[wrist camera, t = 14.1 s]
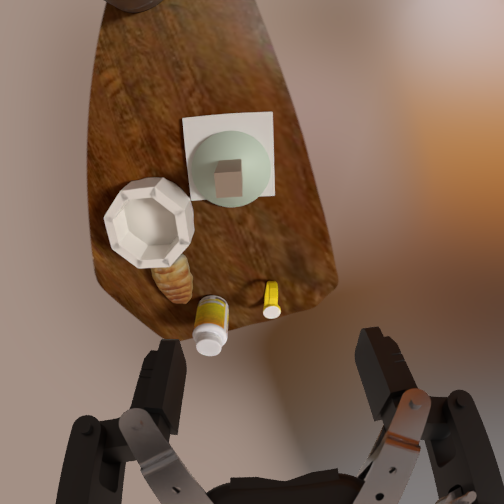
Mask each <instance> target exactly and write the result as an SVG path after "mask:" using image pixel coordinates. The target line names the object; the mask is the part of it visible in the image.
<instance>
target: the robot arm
mask: <svg viewBox="0 0 504 504" xmlns="http://www.w3.org/2000/svg"><path fill="white" fill-rule="evenodd" d="M105 1H106V2H108V3H110V4H112V5H113V6H115V7H117V8H118V9H120V10H122V11H125V12H129V13H136V12H142V11H145V10H148V9H150V8H152V7H154V6H156V5H157V4H159V3H160V2H161V1H162V0H105ZM355 362H356V366H357V369H358V372H359V375H360V378H361V381H362V384H363V386H364V390H365V393H366V396H367V399H368V402H369V405H370V409H371V412H372V415H373V419H374V421H377V420H383V423H384V425H383V427H382V429H381V431H380V433H379V435H378V438H377V440H376V442H375V444H374V446H373V448H372V450H371V452H370V454H369V456H368V458H367V460H366V461H365V463H364V464H363V466H362V468H361V469H360V471H359V472H358V474H357V476H356V477H354V476H351V475H348V474H342V473H338V469H337V468H336V469H331V470H325V471H318V472H312V473H309V474H306V475H304V476H300V477H297V478H295V479H292V480H288V481H277V480H271V479H265V478H259V477H244V478H230V480H231V481H230V483H226V484H223V485H220V486H218V487H215V488H213V489H212V490H210V491H208V492H207V493H206V492H205V491H204V489H203V488H202V487H201V486H200V485H199V483H198V482H197V481H196V480H195V478H194V477H193V476H192V474H191V473H190V472H189V471H188V469H187V468H186V467H185V465H184V464H183V463H182V461H181V460H180V458H179V457H178V456H177V454H176V453H175V451H174V450H173V448H172V447H171V446H170V444H169V438H170V434H173V435H177V434H178V427H179V419H180V413H181V405H182V399H183V392H184V386H185V379H186V372H187V367H186V360H185V357H184V354H183V351H182V347H181V344H180V341H179V340H178V339H162V340H161V342H160V345H159V348H158V351H154V350H153V351H152V350H151V351H150V353H149V354H148V355H147V356H146V357H145V358H144V361H143V364H142V368H141V372H140V375H139V379H138V382H137V386H136V389H135V393H134V397H133V400H132V404H131V407H130V409H129V410H127V411H126V412H124V413H123V414H122V416H121V417H120V418H117V419H112V420H105V421H98V420H97V419H96V418H95V417H93V416H90V415H85V416H81V417H79V418H78V419H77V420H76V421H75V422H74V424H73V426H72V430H71V434H70V438H69V441H68V445H67V450H66V454H65V458H64V462H63V467H62V472H61V477H60V482H59V487H58V493H57V499H56V504H121V501H122V491H123V481H124V472H125V465H126V462H128V461H135V460H137V461H138V463H139V465H140V467H141V472H142V475H143V476H144V478H145V479H146V481H147V483H148V484H149V486H150V488H151V489H152V491H153V492H154V494H155V495H156V497H157V498H158V500H159V501H160V503H161V504H398V502H399V500H400V498H401V496H402V494H403V492H404V490H405V487H406V485H407V483H408V481H409V478H410V476H411V474H412V471H413V469H414V466H415V464H416V461H417V458H418V456H419V453H420V449H421V447H420V446H419V442H420V440H425V444H426V447H427V450H428V455H429V458H430V462H431V466H432V470H433V474H434V478H435V483H436V487H437V492H438V496H439V500H438V501H437V502H436V503H435V504H504V485H503V482H502V478H501V475H500V472H499V468H498V465H497V462H496V459H495V456H494V452H493V450H492V447H491V444H490V441H489V438H488V435H487V433H486V430H485V427H484V425H483V422H482V420H481V417H480V415H479V413H478V410H477V408H476V405H475V403H474V401H473V399H472V397H471V395H470V394H469V393H467V392H466V391H463V390H456V391H453V392H452V393H451V394H450V395H449V396H448V397H431V396H429V395H428V394H427V393H426V392H425V391H423V390H421V389H418V387H417V386H416V383H415V381H414V379H413V377H412V374H411V372H410V370H409V368H408V366H407V364H406V362H405V361H404V357H403V355H402V354H401V351H400V349H399V347H398V345H397V343H396V342H395V341H394V340H393V339H391V338H390V337H389V336H387V337H383V334H382V332H381V330H380V328H379V327H370V328H363V329H362V330H361V332H360V335H359V339H358V343H357V346H356V350H355Z"/></svg>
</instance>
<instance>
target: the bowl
mask: <svg viewBox="0 0 504 504" xmlns="http://www.w3.org/2000/svg"><path fill="white" fill-rule="evenodd" d="M193 221H194V212H193V207H192V204H191V200H190V198H189V197H188V196H187V195H186V193H185V192H184V191H183V190H182V189H181V188H180V187H179V186H178V185H176V184H175V183H173V182H171V181H169V180H167V179H165V178H164V177H162V178H159V177H148V178H144V179H141V180H137V181H131V182H130V183H129V184H128V185H126V186H125V187H124V188H123V189H122V190H121V191H120V192H119V193H118V195H117V197H116V198H115V200H114V201H113V203H112V205H111V206H110V208H109V209H108V211H107V213H106V214H105V216H104V222H105V226H106V230H107V233H108V237H109V241H110V244H111V248H112V249H113V250H114V251H115V252H117V253H118V254H119V255H121V256H122V257H123V258H125V259H126V260H127V261H129V262H130V263H132V264H133V265H134V266H136V267H137V268H160V267H170V266H171V265H172V264H173V263H174V262H175V260H176V259H177V258H178V257H179V256H180V255H181V254H182V252H183V251H184V250H185V249H186V248H187V247H188V246H189V244H190V242H191V239H192V236H193V233H194V230H195V229H194V222H193Z"/></svg>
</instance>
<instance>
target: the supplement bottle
mask: <svg viewBox="0 0 504 504" xmlns="http://www.w3.org/2000/svg"><path fill="white" fill-rule="evenodd" d="M228 315H229V307H228V304H227V302H226V301H225V300H224V299H223V298H221V297H219V296H215V295H210V296H206V297H204V298H202V299H201V300H200V301H199V303H198V307H197V313H196V318H195V324H194V330H193V339H194V341H195V342H196V349H197V351H198V352H199V353H201V354H202V355H206V356H215V355H217V354H219V353H220V351H221V348H222V346H223V345H224V344H225V343H226V341H227V334H228Z"/></svg>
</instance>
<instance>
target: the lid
mask: <svg viewBox="0 0 504 504" xmlns="http://www.w3.org/2000/svg"><path fill="white" fill-rule="evenodd" d="M191 171H192V178H193V181H194V184H195V186H196V188H197V189H198V191H199V192H200V193H201V195H202V196H203V197H205V198H206V199H207V200H209V201H210V202H212V203H214V204H216V205H219V206H223V207H239V206H243V205H246V204H248V203H250V202H252V201H254V200H255V199H257V198H258V197H259V196H260V195H261V194H262V193H263V191H264V190H265V188H266V187H267V185H268V182H269V179H270V174H271V164H270V159H269V157H268V154H267V152H266V150H265V148H264V147H263V146H262V144H261V143H260V142H259V141H258V140H256V139H255V138H254V137H252V136H250V135H248V134H246V133H243V132H239V131H223V132H220V133H217V134H214V135H212V136H211V137H209V138H208V139H206V140H205V141H204V142H203V143H202V144H201V145H200V146H199V148H198V149H197V151H196V153H195V155H194V157H193V161H192V167H191Z"/></svg>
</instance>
